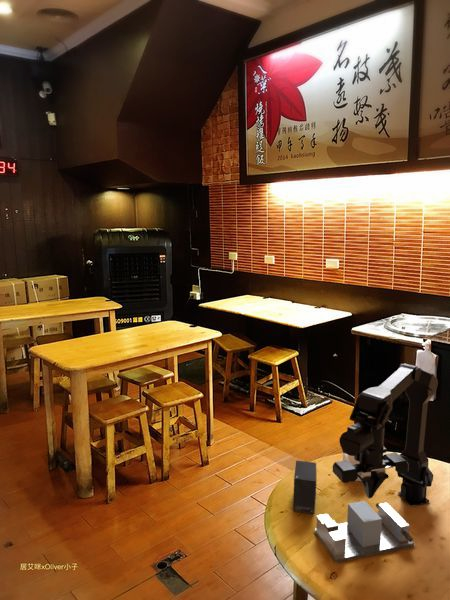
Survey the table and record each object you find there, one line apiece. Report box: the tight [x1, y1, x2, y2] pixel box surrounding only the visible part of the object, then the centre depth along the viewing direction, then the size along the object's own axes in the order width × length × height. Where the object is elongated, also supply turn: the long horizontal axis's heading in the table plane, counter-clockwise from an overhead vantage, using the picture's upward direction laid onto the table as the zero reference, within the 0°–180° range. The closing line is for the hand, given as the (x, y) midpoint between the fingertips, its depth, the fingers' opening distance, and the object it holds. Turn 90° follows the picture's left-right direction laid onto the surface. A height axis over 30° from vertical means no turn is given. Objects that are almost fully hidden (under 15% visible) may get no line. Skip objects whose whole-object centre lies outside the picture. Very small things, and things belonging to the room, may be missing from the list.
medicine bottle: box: [342, 452, 362, 482], centre depth 154 cm, size 7×7×12 cm
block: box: [346, 500, 382, 547], centre depth 124 cm, size 5×8×7 cm, turn 15°
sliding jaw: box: [375, 502, 414, 542], centre depth 126 cm, size 2×15×4 cm, turn 15°
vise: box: [314, 513, 415, 564], centre depth 124 cm, size 22×12×6 cm, turn 105°
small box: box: [292, 460, 317, 514], centre depth 140 cm, size 11×6×10 cm, turn 168°
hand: (369, 497), depth 123 cm, fingers closed
